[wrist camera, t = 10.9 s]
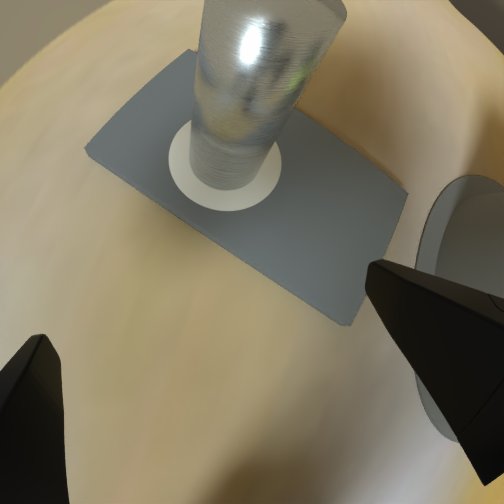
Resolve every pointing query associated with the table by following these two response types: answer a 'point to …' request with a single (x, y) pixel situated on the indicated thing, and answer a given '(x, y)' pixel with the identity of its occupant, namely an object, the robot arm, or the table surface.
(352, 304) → the mat
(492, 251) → the grey tapered cylinder
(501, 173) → the table surface
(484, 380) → the robot arm
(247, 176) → the metal pin
